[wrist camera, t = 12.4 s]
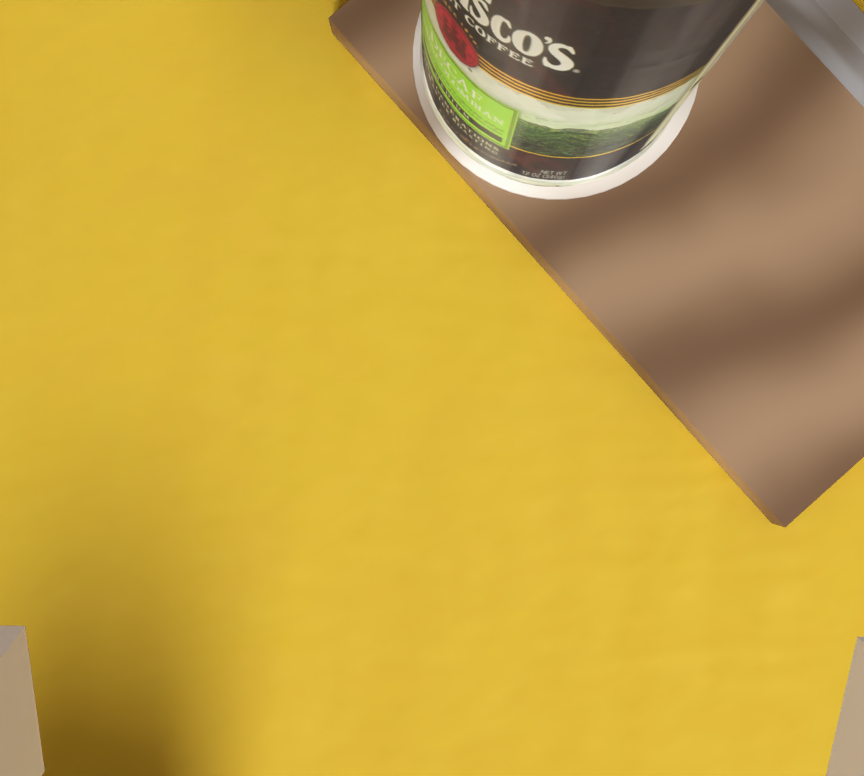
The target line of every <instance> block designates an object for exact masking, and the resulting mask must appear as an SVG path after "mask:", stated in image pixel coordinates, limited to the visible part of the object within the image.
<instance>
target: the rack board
mask: <svg viewBox="0 0 864 776" xmlns="http://www.w3.org/2000/svg"><path fill="white" fill-rule="evenodd" d="M329 22H330V26H331V29H332V33H333V34H334V35H335V36H336V38H337V39H338V40H339V41H340V42H341V43H342V44H343V45H344V46H345V48H346V49H347V50H348V51H349V52H350V53H351V54H352V55H353V57H354V58H355V59H356V60H357V61H358V62H359V63H360V64H361V65H362V67H363V68H364V69H365V70H366V71H367V72H368V73H369V74H370V75H371V77H372V78H373V79H374V80H375V81H376V82H377V83H378V84H379V86H380V87H381V88H382V89H383V90H384V91H385V92H386V93H387V94H388V96H389V97H390V98H391V99H392V100H393V101H394V102H395V103H396V104H397V106H398V107H399V108H400V109H401V110H402V111H403V112H404V113H405V115H406V116H407V117H408V118H409V119H410V120H411V121H412V122H413V123H414V125H415V126H416V127H417V128H418V129H419V130H420V131H421V132H422V133H423V135H424V136H425V137H426V138H427V139H428V140H429V141H430V142H431V144H432V145H433V146H434V147H435V148H436V149H437V150H438V151H439V152H440V154H441V155H442V156H443V157H444V158H445V159H446V160H447V161H448V162H449V164H450V165H451V166H452V167H453V168H454V169H455V170H456V171H457V173H458V174H459V175H460V176H461V177H462V178H463V179H464V180H465V181H466V183H467V184H468V185H469V186H470V187H471V188H472V189H473V190H474V191H475V193H476V194H477V195H478V196H479V197H480V198H481V199H482V200H483V202H484V203H485V204H486V205H487V206H488V207H489V208H490V209H491V210H492V212H493V213H494V214H495V215H496V216H497V217H498V218H499V219H500V220H501V222H502V223H503V224H504V225H505V226H506V227H507V228H508V229H509V231H510V232H511V233H512V234H513V235H514V236H515V237H516V238H517V239H518V241H519V242H520V243H521V244H522V245H523V246H524V247H525V248H526V249H527V251H528V252H529V253H530V254H531V255H532V256H533V257H534V258H535V260H536V261H537V262H538V263H539V264H540V265H541V266H542V267H543V268H544V270H545V271H546V272H547V273H548V274H549V275H550V276H551V277H552V278H553V280H554V281H555V282H556V283H557V284H558V285H559V286H560V287H561V289H562V290H563V291H564V292H565V293H566V294H567V295H568V296H569V297H570V299H571V300H572V301H573V302H574V303H575V304H576V305H577V306H578V307H579V309H580V310H581V311H582V312H583V313H584V314H585V315H586V316H587V318H588V319H589V320H590V321H591V322H592V323H593V324H594V325H595V326H596V328H597V329H598V330H599V331H600V332H601V333H602V334H603V335H604V336H605V338H606V339H607V340H608V341H609V342H610V343H611V344H612V345H613V347H614V348H615V349H616V350H617V351H618V352H619V353H620V354H621V355H622V357H623V358H624V359H625V360H626V361H627V362H628V363H629V364H630V365H631V367H632V368H633V369H634V370H635V371H636V372H637V373H638V374H639V376H640V377H641V378H642V379H643V380H644V381H645V382H646V383H647V384H648V386H649V387H650V388H651V389H652V390H653V391H654V392H655V393H656V394H657V396H658V397H659V398H660V399H661V400H662V401H663V402H664V403H665V405H666V406H667V407H668V408H669V409H670V410H671V411H672V412H673V413H674V415H675V416H676V417H677V418H678V419H679V420H680V421H681V422H682V423H683V425H684V426H685V427H686V428H687V429H688V430H689V431H690V432H691V434H692V435H693V436H694V437H695V438H696V439H697V440H698V441H699V442H700V444H701V445H702V446H703V447H704V448H705V449H706V450H707V451H708V452H709V454H710V455H711V456H712V457H713V458H714V459H715V460H716V461H717V463H718V464H719V465H720V466H721V467H722V468H723V469H724V470H725V471H726V473H727V474H728V475H729V476H730V477H731V478H732V479H733V480H734V481H735V483H736V484H737V485H738V486H739V487H740V488H741V489H742V490H743V492H744V493H745V494H746V495H747V496H748V497H749V498H750V499H751V500H752V502H753V503H754V504H755V505H756V506H757V507H758V508H759V509H760V510H761V512H762V513H763V514H764V515H765V516H766V517H767V518H768V519H769V521H770V522H771V523H773V524H776V525H779V526H783V527H786V526H787V525H788V524H789V523H791V522H792V521H793V520H794V519H795V518H796V517H797V516H798V515H799V514H801V513H802V512H803V511H804V510H805V509H806V508H807V507H808V506H809V505H811V504H812V503H813V502H814V501H815V500H816V499H817V498H818V497H819V496H821V495H822V494H823V493H824V492H825V491H826V490H827V489H828V488H830V487H831V486H832V485H833V484H834V483H835V482H836V481H837V480H838V479H840V478H841V477H842V476H843V475H844V474H845V473H846V472H847V471H848V470H850V469H851V468H852V467H853V466H854V465H855V464H856V463H857V462H858V461H860V460H861V459H862V458H863V457H864V13H863V12H862V11H861V9H860V8H859V7H858V6H857V5H856V4H855V3H854V2H853V1H852V0H765V1H764V2H763V3H762V4H761V6H760V7H759V8H758V9H757V11H756V12H755V13H754V14H753V16H752V17H751V18H750V19H749V21H748V22H747V23H746V25H745V26H744V27H743V28H742V30H741V31H740V32H739V34H738V35H737V36H736V37H735V39H734V40H733V41H732V43H731V44H730V45H729V46H728V48H727V49H726V50H725V51H724V53H723V54H722V55H721V56H720V58H719V59H718V61H717V62H716V63H715V64H714V65H713V66H712V68H711V69H710V70H709V71H708V72H707V74H706V75H705V76H704V77H703V79H702V80H701V81H700V82H699V84H698V85H697V86H696V87H695V89H694V90H693V91H692V92H691V94H690V95H689V96H688V98H687V99H686V100H685V101H684V103H683V104H682V105H681V106H680V108H679V109H678V110H677V111H676V113H675V114H674V115H673V117H672V119H671V120H670V122H669V124H668V125H667V127H666V128H665V130H664V131H663V132H662V134H661V135H660V136H659V138H658V139H657V140H656V141H655V142H654V144H653V145H652V146H651V147H650V148H649V149H648V150H647V151H646V152H645V153H644V154H642V155H641V156H640V157H639V158H638V159H636V160H635V161H633V162H631V163H630V164H629V165H627V166H626V167H624V168H622V169H620V170H618V171H616V172H614V173H612V174H610V175H608V176H606V177H603V178H601V179H598V180H595V181H591V182H588V183H584V184H579V185H573V186H562V187H544V186H535V185H530V184H525V183H521V182H518V181H515V180H511V179H508V178H506V177H504V176H501V175H499V174H496V173H494V172H492V171H491V170H489V169H487V168H485V167H483V166H482V165H480V164H478V163H477V162H476V161H474V160H473V159H472V158H470V157H469V156H468V155H467V154H466V153H464V152H463V151H462V150H461V149H460V148H459V147H458V146H457V145H456V144H455V143H454V142H453V141H452V140H451V138H450V137H449V136H448V135H447V134H446V132H445V131H444V129H443V127H442V126H441V124H440V122H439V121H438V119H437V117H436V115H435V113H434V112H433V109H432V107H431V105H430V102H429V100H428V97H427V94H426V91H425V87H424V83H423V78H422V73H421V63H420V43H421V34H422V31H421V0H349V1H348V2H347V3H345V4H344V5H343V6H342V7H341V8H340V9H339V10H337V11H336V12H335V13H334V14H333V15H332V16H330V17H329Z"/></svg>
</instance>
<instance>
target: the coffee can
mask: <svg viewBox="0 0 864 776" xmlns="http://www.w3.org/2000/svg"><path fill="white" fill-rule="evenodd" d="M764 1H765V0H421V31H422V34H421V43H420V63H421V73H422V78H423V83H424V87H425V91H426V94H427V97H428V100H429V102H430V105H431V107H432V109H433V112H434V113H435V115H436V117H437V119H438V121H439V122H440V124H441V126H442V127H443V129H444V131H445V132H446V134H447V135H448V136H449V137H450V138H451V140H452V141H453V142H454V143H455V144H456V145H457V146H458V147H459V148H460V149H461V150H462V151H463V152H464V153H466V154H467V155H468V156H469V157H470V158H472V159H473V160H474V161H476V162H477V163H478V164H480V165H482V166H483V167H485V168H487V169H489V170H491V171H492V172H494V173H496V174H499V175H501V176H504V177H506V178H508V179H511V180H515V181H518V182H521V183H525V184H530V185H535V186H544V187H562V186H573V185H579V184H584V183H588V182H591V181H595V180H598V179H601V178H603V177H606V176H608V175H610V174H612V173H614V172H616V171H618V170H620V169H622V168H624V167H626V166H627V165H629V164H630V163H631V162H633V161H635V160H636V159H638V158H639V157H640V156H641V155H642V154H644V153H645V152H646V151H647V150H648V149H649V148H650V147H651V146H652V145H653V144H654V142H655V141H656V140H657V139H658V138H659V136H660V135H661V134H662V132H663V131H664V130H665V128H666V127H667V125H668V124H669V122H670V120H671V119H672V117H673V115H674V114H675V113H676V111H677V110H678V109H679V108H680V106H681V105H682V104H683V103H684V101H685V100H686V99H687V98H688V96H689V95H690V94H691V92H692V91H693V90H694V89H695V87H696V86H697V85H698V84H699V82H700V81H701V80H702V79H703V77H704V76H705V75H706V74H707V72H708V71H709V70H710V69H711V68H712V66H713V65H714V64H715V63H716V62H717V61H718V59H719V58H720V56H721V55H722V54H723V53H724V51H725V50H726V49H727V48H728V46H729V45H730V44H731V43H732V41H733V40H734V39H735V37H736V36H737V35H738V34H739V32H740V31H741V30H742V28H743V27H744V26H745V25H746V23H747V22H748V21H749V19H750V18H751V17H752V16H753V14H754V13H755V12H756V11H757V9H758V8H759V7H760V6H761V4H762V3H763V2H764Z"/></svg>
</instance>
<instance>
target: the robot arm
mask: <svg viewBox="0 0 864 776" xmlns="http://www.w3.org/2000/svg"><path fill="white" fill-rule="evenodd" d="M44 771H45V768H44V761H43V754H42V746H41V739H40V732H39V724H38V717H37V710H36V702H35V695H34V687H33V680H32V673H31V665H30V658H29V651H28V643H27V636H26V629H25V626H0V776H42V775H43V773H44ZM826 776H864V637H857V641H856V645H855V650H854V654H853V658H852V663H851V667H850V672H849V676H848V681H847V685H846V689H845V694H844V698H843V703H842V707H841V712H840V716H839V720H838V725H837V729H836V734H835V738H834V743H833V747H832V751H831V756H830V760H829V765H828V769H827V774H826Z"/></svg>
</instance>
